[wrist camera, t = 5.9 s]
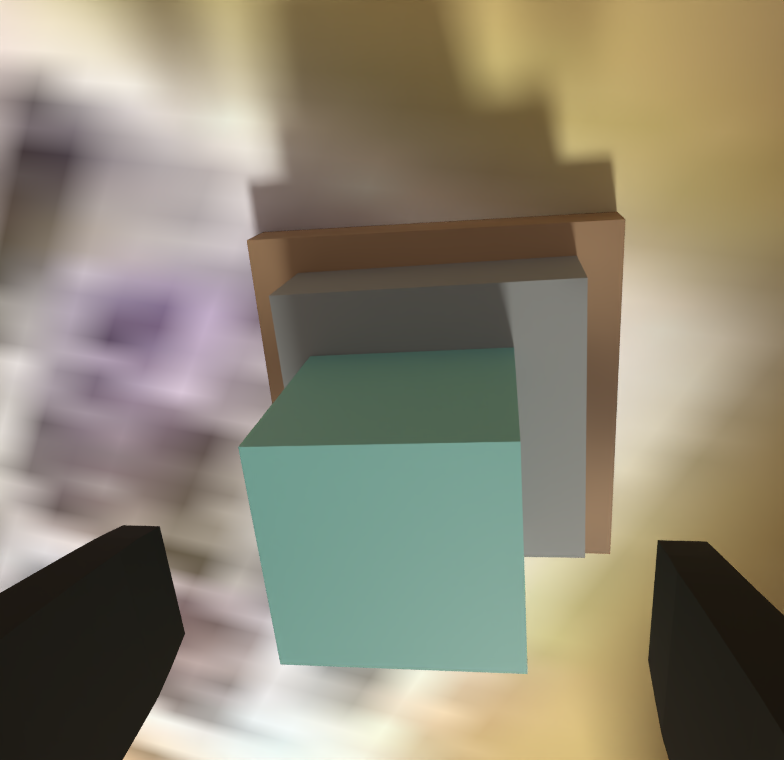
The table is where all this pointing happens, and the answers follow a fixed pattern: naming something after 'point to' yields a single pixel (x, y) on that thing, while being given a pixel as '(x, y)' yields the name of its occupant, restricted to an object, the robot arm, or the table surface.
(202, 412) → the table surface
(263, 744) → the table surface
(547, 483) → the tower mid
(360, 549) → the teal block
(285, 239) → the tower base
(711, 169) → the table surface
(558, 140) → the table surface
